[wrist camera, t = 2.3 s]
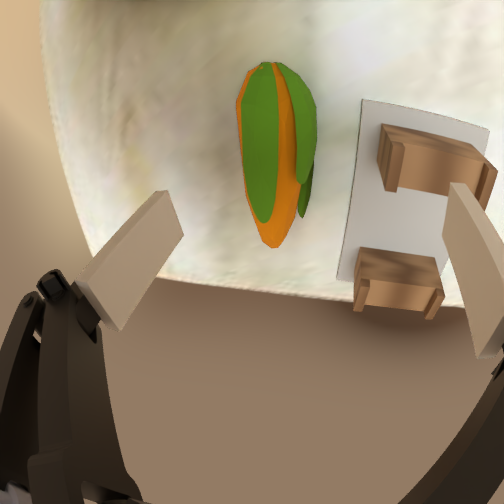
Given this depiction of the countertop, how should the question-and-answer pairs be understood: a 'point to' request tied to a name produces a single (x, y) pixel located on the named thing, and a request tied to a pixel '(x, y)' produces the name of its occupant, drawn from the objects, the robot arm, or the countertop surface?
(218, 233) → the countertop surface
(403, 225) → the mat
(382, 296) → the wooden brackets on board
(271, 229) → the corn
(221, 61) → the countertop surface
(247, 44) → the countertop surface
